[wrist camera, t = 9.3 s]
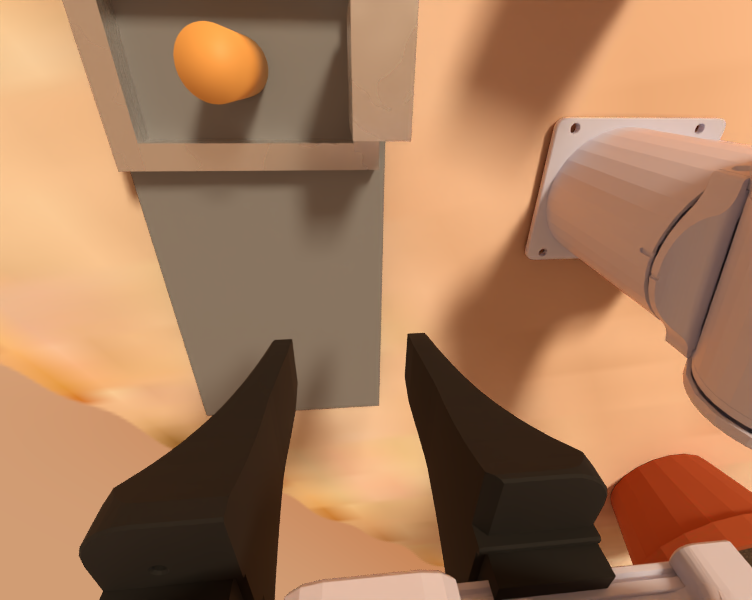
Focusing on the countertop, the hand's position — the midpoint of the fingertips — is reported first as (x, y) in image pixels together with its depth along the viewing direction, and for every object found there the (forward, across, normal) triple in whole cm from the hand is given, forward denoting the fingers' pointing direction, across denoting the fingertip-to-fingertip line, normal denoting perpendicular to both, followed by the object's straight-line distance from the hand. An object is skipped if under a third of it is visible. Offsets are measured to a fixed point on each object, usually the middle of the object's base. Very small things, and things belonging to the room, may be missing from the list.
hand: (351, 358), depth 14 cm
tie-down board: (+10, +4, -1) cm, 11 cm away
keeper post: (+10, +4, -9) cm, 14 cm away
